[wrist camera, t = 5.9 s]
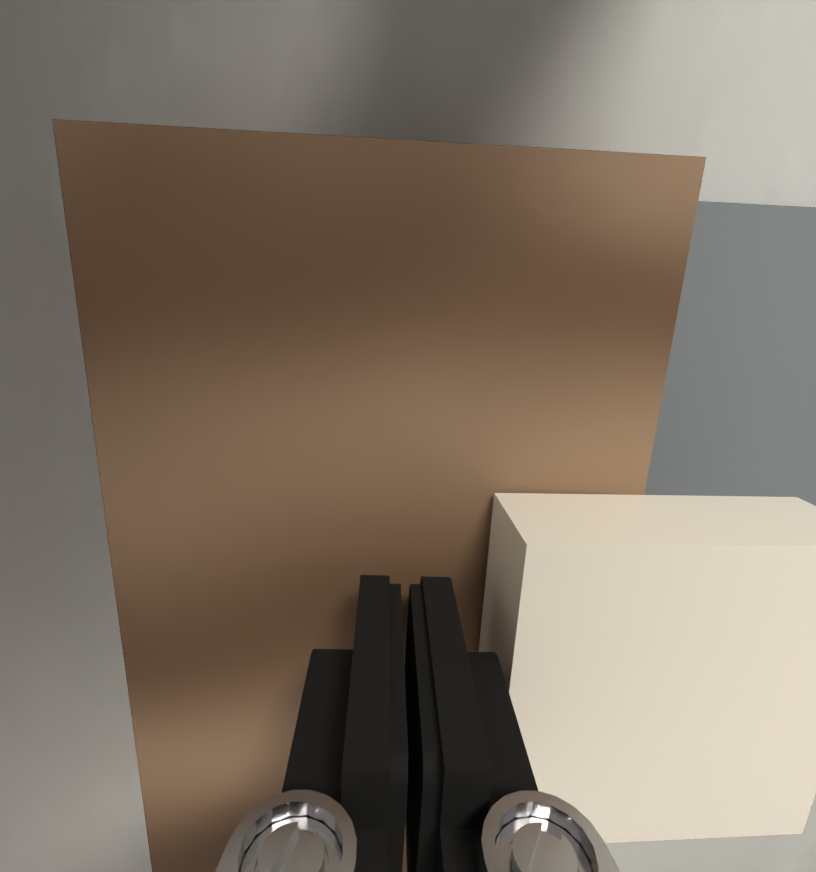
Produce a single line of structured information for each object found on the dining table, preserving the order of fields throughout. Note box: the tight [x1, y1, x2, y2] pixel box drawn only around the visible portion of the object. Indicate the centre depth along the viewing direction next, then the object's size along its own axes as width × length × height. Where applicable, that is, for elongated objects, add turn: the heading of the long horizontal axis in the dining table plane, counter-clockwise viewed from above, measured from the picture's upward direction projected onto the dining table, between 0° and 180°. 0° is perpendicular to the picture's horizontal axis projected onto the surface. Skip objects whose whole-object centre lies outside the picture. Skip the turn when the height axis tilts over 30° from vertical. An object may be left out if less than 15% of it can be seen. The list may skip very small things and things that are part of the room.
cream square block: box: [478, 493, 816, 843], centre depth 10 cm, size 6×6×2 cm
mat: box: [644, 201, 816, 506], centre depth 14 cm, size 17×11×1 cm, turn 178°
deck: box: [52, 119, 706, 872], centre depth 12 cm, size 17×10×4 cm, turn 178°
